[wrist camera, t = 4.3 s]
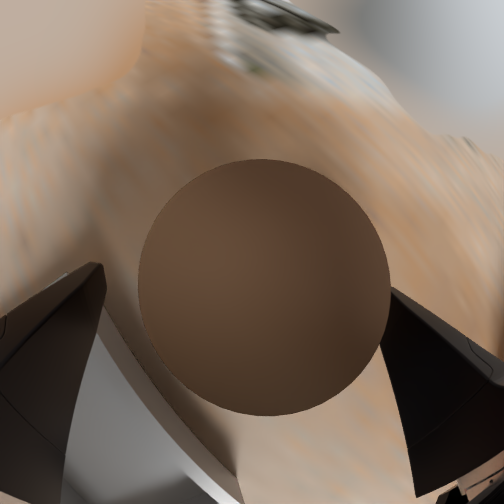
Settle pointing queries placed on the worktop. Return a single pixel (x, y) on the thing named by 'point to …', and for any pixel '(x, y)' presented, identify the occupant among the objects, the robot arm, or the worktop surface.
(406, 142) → the worktop surface
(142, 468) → the box
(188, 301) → the walnut cylinder
